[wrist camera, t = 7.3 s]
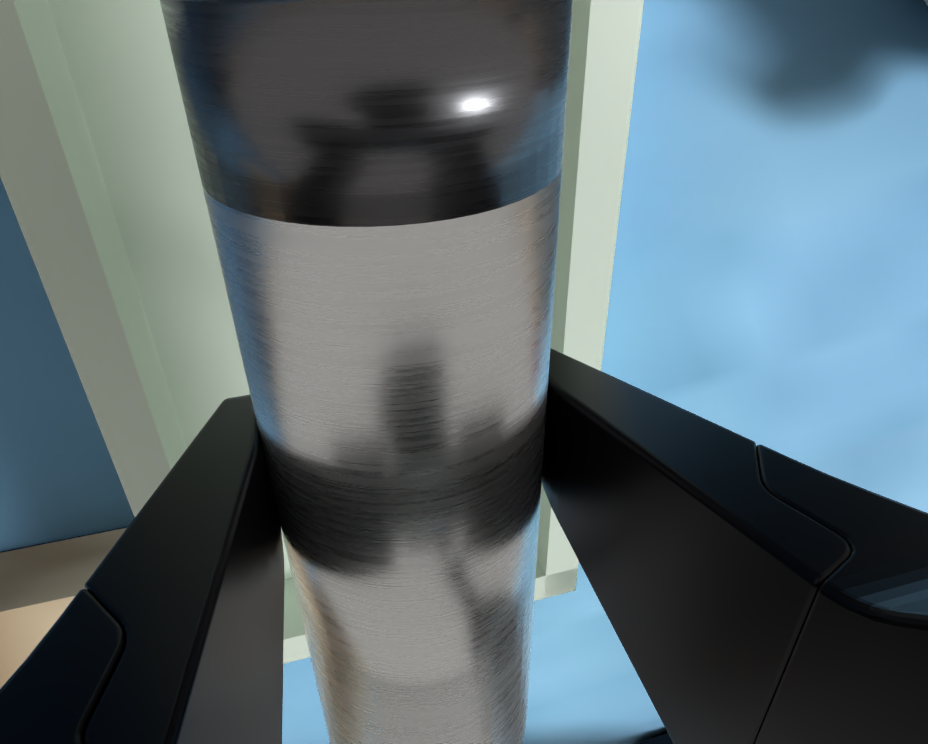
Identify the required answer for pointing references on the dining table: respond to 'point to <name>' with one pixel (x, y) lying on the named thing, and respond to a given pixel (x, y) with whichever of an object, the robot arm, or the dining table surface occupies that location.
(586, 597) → the dining table surface
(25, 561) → the bracket
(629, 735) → the dining table surface
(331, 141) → the pin
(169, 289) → the tray
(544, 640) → the dining table surface
